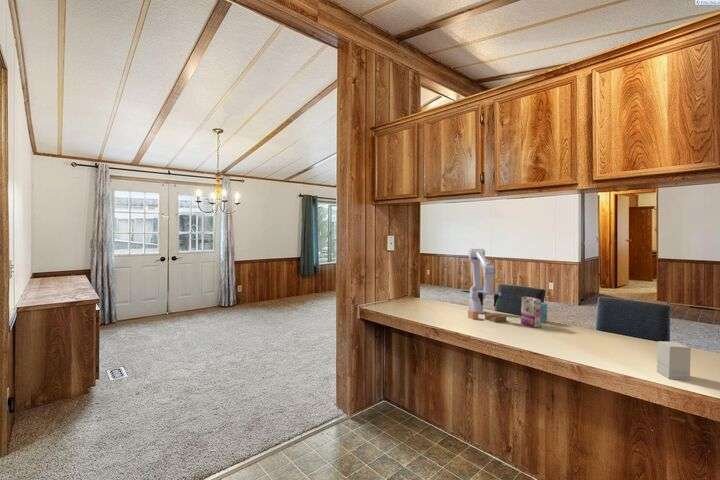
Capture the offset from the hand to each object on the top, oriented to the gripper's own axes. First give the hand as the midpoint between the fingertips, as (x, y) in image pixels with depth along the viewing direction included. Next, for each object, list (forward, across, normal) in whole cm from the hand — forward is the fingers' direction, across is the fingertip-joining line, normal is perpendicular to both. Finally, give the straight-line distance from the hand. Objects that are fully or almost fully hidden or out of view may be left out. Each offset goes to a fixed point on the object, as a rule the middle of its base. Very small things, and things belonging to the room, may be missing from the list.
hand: (488, 305), depth 222 cm
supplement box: (+9, +80, -51) cm, 95 cm away
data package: (+9, +26, +13) cm, 31 cm away
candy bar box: (+9, +24, +1) cm, 26 cm away
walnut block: (+9, +4, +2) cm, 10 cm away
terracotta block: (+9, -9, -1) cm, 13 cm away
